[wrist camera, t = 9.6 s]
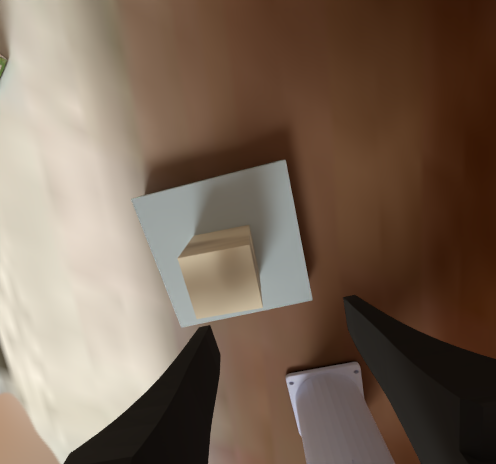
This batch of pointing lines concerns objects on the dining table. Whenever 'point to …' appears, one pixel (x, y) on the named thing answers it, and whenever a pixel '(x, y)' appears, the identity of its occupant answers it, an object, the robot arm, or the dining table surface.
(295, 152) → the dining table surface
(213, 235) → the birch cube
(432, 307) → the dining table surface
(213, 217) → the grey-blue block
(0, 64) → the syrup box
